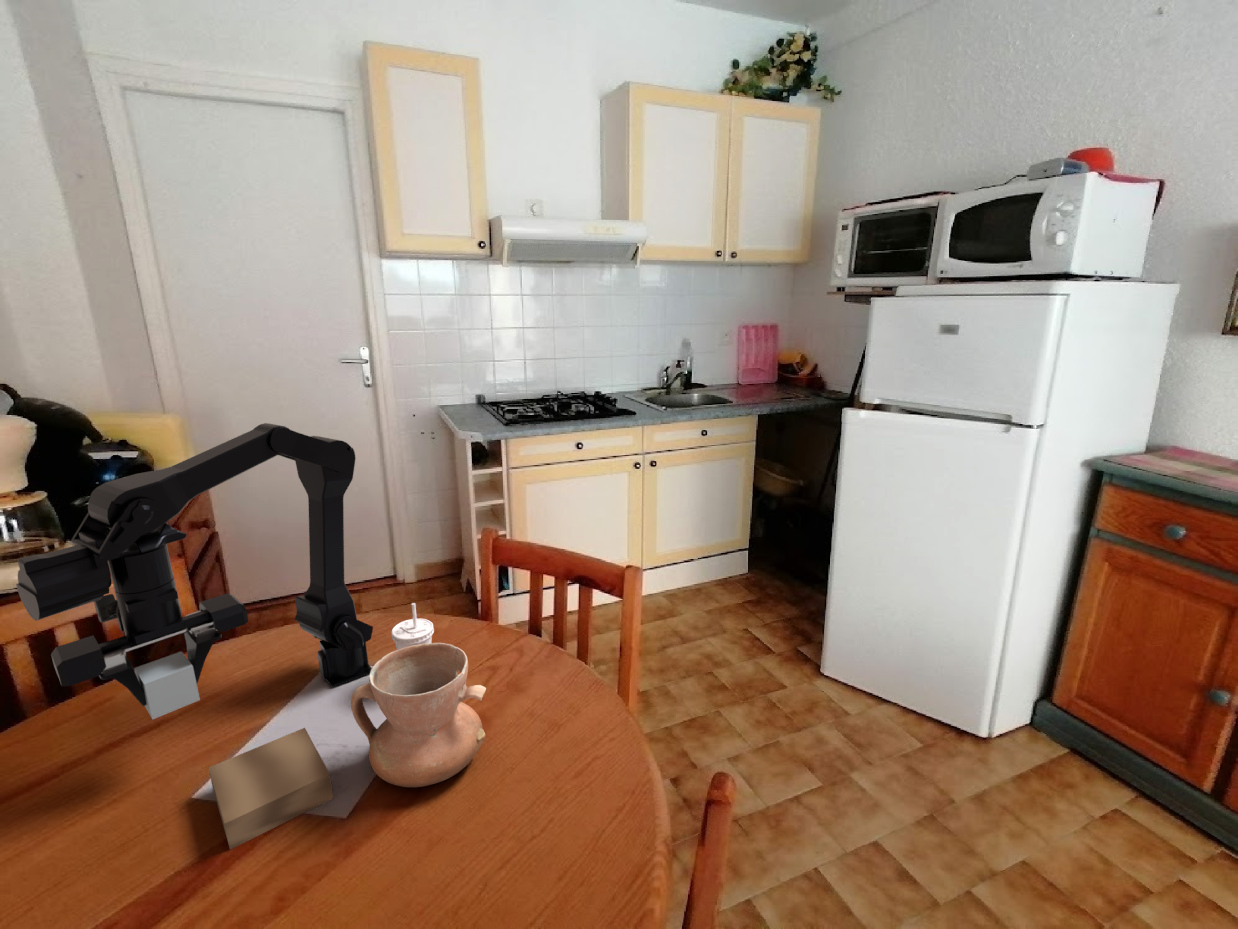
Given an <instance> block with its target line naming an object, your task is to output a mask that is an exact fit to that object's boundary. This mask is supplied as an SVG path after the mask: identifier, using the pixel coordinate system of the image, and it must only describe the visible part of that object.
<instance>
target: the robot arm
mask: <svg viewBox="0 0 1238 929" xmlns="http://www.w3.org/2000/svg"><path fill="white" fill-rule="evenodd" d="M277 456H279V457H282V458H286V459H288V460H292V461H295V466H296V471H297V477H298V479H299V480H300V482H301V485H302V486H303V488H304V490H305V492H306V494H307V498H308V499H307V500H308V502H307V503H308V533H309V534H308V537H309V539H308V541H309V579H310V580H309V586H308V588H307V590H306V591H305V593H304V594H303V595H298V596H295V598H294V599H295V602H294V603H295V606H296V614H295V617H294V621H296V622H297V623H299V624H298V625H299V627H300V629H302V630H303V631H304V632H306V633H308V634H310V635H312V637H313V638H315V639H318V640H319V646H320V650H318V651H317V660H318V667H319V673H320V676H321V677H322V678H323V680H324V681H327V683H328V685H329V686H330V688H335V687H338V686H340V685H343V684H345V683H349V682H351V681H354V680H356V679H359V678H361V677H364V676H368V675H370V671H371V669H372V667H371V665H370V664H369V658H368V651H367V650H368V649H367V642H368V641H370V640H371V639H372V636H373V629H374V627H373V626H372V625H370V624H368V623H366V622H363V621H362V620H359V619H358V616H357V611H356V607H355V601H354V599H353V597H352V595H351V593H350V591H349V589H348V587H347V585H346V583H345V527H344V526H345V523H344V522H345V521H344V520H345V517H344V514H345V513H344V512H345V511H344V508H345V507H344V496H345V494H346V492H347V490H348V488H349V486H350V484H351V482H352V481H353V479H354V472H355V466H356V453H355V449H354V447H352V446H351V445H350V444H349V443H348V442H346V441H343V440H340V439H334V438H331V437H330V438H329V437H324V436H319V435H311V436H310V435H307V434H304V433H300V432H297V431H294V430H292V429H290V428H289V427H287V426H286V425H285V426H284V425H278V424H275V423H274V424H273V423H267V422H264V423H261V424H258V425H257V426H256V427H254V428H253V429H252V430H249V431H247V432H245V433H242V434H241V435H238V436H236V437H233V438H231V439H228V440H227V441H224V442H222V443H221V444H218V445H216V446H214V447H212V448H209V449H207V450H205V451H203V452H201V453H198V454H196V455H194V456H192V457H190V458H187V459H185V460H183V461H181V462H178V463H176V464H175V465H171V466H168V467H165V468H162V469H157V470H150V471H145V472H140V473H135V474H131V475H127V476H124V477H121V478H116V479H112V480H109V481H106V482H104V483H102V484H100V485H99V486H97V487H95V489H94V490H92V492H91V493H90V494H91V495H90V497H89V500H88V502H87V513H86V515H85V517H83V520H82V521H81V524H80V525H79V526H78V528H77V529H76V532H75V533H74V534H73V536H72V537H71V540H70V542H71V544H73V545H72V546H69V547H68V546H67V547H65V548H61V549H58V550H54V551H50V552H46V553H42V554H40V553H38V554H32V555H28V556H24V557H20V558H18V560H17V565H18V568H19V570H18V571H17V581H18V582H17V583H15V584H16V588H17V592H18V595H19V597H20V601H21V603H22V604H23V606H24V608H25V610H26V612H27V613H28V615H29V616H30V618H32V620H34V621H40V620H43V619H47V618H49V617H51V616H54V615H57V614H61V613H64V612H67V611H70V610H72V609H76V608H79V607H82V606H85V605H88V604H91V603H93V604H94V607H95V611H96V615H97V618H98V621H99V622H100V623H105V622H108V621H109V622H110V621H112V620H116V619H117V622H118V623H117V624H118V626H119V629H120V631H121V632H124V634H125V635H123V636H119V637H117V638H114V639H111V640H108V641H105V642H102V643H98V641H97V639H96V638H95V636H94V635H90V636H88V637H87V636H86V637H83V638H81V639H76V640H74V641H70V642H68V643H65V644H61V645H59V646H55V648H54V649H53V651H52V652H51V654H50V656H51V659H52V664H53V667H54V669H55V673H56V675H57V677H58V679H59V682H60V685H61V687H71V686H74V685H78V684H79V683H82V682H85V681H89V680H91V679H94V678H97V677H99V679H100V680H102V681H107V680H109V679H114V680H115V681H117V682H118V683H119V684H120V685H122V686H123V687H124V688H126V689H127V690H128V691H129V692H130V693H131V694H132V695H133V697H134V698H135V699H136V700H137V701H138V702H139V703H140V705H141V706H142V707H145V705H147V704H146V698H145V694H144V692H143V689H142V687H141V685H140V683H139V680H138V678H137V676H136V673H135V669H134V667H133V665H132V663H131V662H130V661H129V658H128V657H127V653H129V652H132V651H134V650H135V651H136V650H138V649H141V648H143V647H146V646H149V645H152V644H155V643H158V642H161V641H164V640H167V639H169V638H173V637H176V636H179V635H182V634H184V639H185V644H186V653H187V654H186V656H187V657H186V658H187V659H188V660H189V662H190V663H191V664H192V666H193V669H194V674H195V679H196V683H197V685H198V683H199V680H200V678H201V674H202V671H203V668H204V666H205V665H204V664H205V662H206V659H207V657H208V655H209V652H210V650H211V648H212V646H213V645H214V642H215V641H218V640H220V639H221V638H222V633H224V632H228V631H230V630H233V629H236V628H238V627H242V626H245V625H247V623H248V622H249V617H248V612H247V609H246V606H245V604H244V603H242V602H241V601H240V600H239V599H238V598H237V597H236V596H235V595H233V594H230V593H224V594H222V595H218V596H214V597H212V598H209V599H206V600H203V601H200V602H199V606H198V607H199V610H197V611H195V612H191V613H188V614H186V615H185V616H183V613H182V609H181V605H180V599H179V595H178V590H177V586H176V581H175V576H174V572H173V567H172V562H171V558H170V552H169V548H168V547H169V546H168V544H171V543H174V542H178V541H181V540H185V539H186V538H187V534H186V532H183V531H181V530H179V529H176V528H174V526H173V527H172V525H170V524H169V523H168V522H169V521H170V520H172V519H173V518H175V517H176V516H178V515H179V514H180V513H181V511H182V510H183V509H185V507H186V506H187V505H188V503H189V502H191V500H193V499H194V498H196V497H197V496H199V495H201V494H203V493H206V492H207V491H209V490H211V489H213V488H215V487H216V486H219V485H221V484H223V483H225V482H227V481H229V480H231V479H232V478H233V479H234V478H235V477H237V476H240V475H241V474H243V473H244V472H247V471H249V470H252V469H253V468H254V467H257V466H259V465H261V464H263V463H265V462H267V461H269V460H270V459H273V458H275V457H277ZM108 530H109V533H108V534H107V535H106V534H104V533H106V532H107V531H108ZM112 584H113V585H112ZM111 586H113V589H114V594H115V595H114V594H113V593H110V588H111ZM109 593H110V594H109ZM221 632H222V633H221Z"/></svg>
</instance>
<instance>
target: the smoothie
mask: <svg viewBox="0 0 1238 929" xmlns="http://www.w3.org/2000/svg"><path fill="white" fill-rule="evenodd" d="M416 608H417V604H416V603H415V602H412V603H411V612H412V618H411V619H407V620H403V621H400V622H399V623H397V624H395V625H394V626H393V628H392V630H391V640H392V641H393V642H394V645H395V648H396V650H399V649H402V648H405V647H410V646H413V645H421V644H430V643H433V642H432V639H433V635H434V632H435V628H434V623H433V622H432V621H430V620H428V619H426V618H418V617H417V609H416Z"/></svg>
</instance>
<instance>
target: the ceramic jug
mask: <svg viewBox="0 0 1238 929" xmlns="http://www.w3.org/2000/svg"><path fill="white" fill-rule="evenodd" d="M371 668H372V669H371V671H370V674H368V676H369V677H368V679H369V682H367V683H364V684H363V685H360V686H358V687H357V688H356V689H355V690H354V691H353V693H352V695H351V700H350V701H351V702H350V704H351V712H352V715H353V718H354V720H355V722H356V724H357V726H358V727H359V728H360V730H361V731H362V732H363V733H364V734H365V736H366V737H367V739H368V743H369V747H368V760H369V763H370V766H371V768H372V770H373V771H374V773H375V774H376V775H377V776H378V777H379V779H382V780H383V781H385V782H387V783H389V784H391V785H394V786H398V787H403V788H420V787H427V786H430V785H434V784H438V783H440V782H443V781H445V780H447V779H450V778H452V777H454V776H455V775H457V774H458V773H459V772H461V771H462V770H464V768H465V767H466V766H468V765H469V763H471V761H472V759H473V758H474V757H475V756H476V754H477V753H478V751H479V750H480V748H481V747H482V745H483V744H484V742H485V740H486V732H485V730H484V729H483V723H482V719H481V718H480V716H479V714H478V713H477V712H476V710H475V709H473V708H472V707H471V706H469V705H468V704H467V703H464V702H463V701H466V700H469V699H476V700H478V701H480V702H481V701H482V699H483V696H484V695H485V692H486V690H487V688H486V686H483V685H481V684H478V685H477V684H476V685H475V684H474V685H470V686H467V679H468V673H469V672H468V670H469V661H468V656H467V655H466V653H465V651H464V650H462V649H461V648H459V647H458V646H455V645H453V644H450V643H443V642H431V643H430V644H421V645H413V646H410V647H405V648H402V649H399V650H397V649H396V650H394V651H392V652H388V653H387V654H386V655H384V656H382V658H380V659H379V660H377V661H376V663H374V665H373V666H372V667H371ZM459 672H460V673H459ZM363 698H366V699H369V700H372V701H374V702H376V704H377V706H378V707H379V709H380V711H381V712H382V714H383V716H384V717H385V720H384V721H383V722H382V723H381V724H379V726H378V727H376V726H375V725H374V723H373V722H372V721H371V718H370V717H369V714H368V713H367V710H366V708H365V705H364V700H363Z"/></svg>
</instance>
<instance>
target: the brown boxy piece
mask: <svg viewBox="0 0 1238 929" xmlns="http://www.w3.org/2000/svg"><path fill="white" fill-rule="evenodd" d="M208 772H209V776H210V782H211V785H212V790H213V795H214V799H215V801H216V805H217V808H218V813H219V815H220V818H221V822H222V826H223V830H224V833H225V837H226V840H227V845H228V847H229V850H232V849H234V848H236V847H238V846H241V845H243V844H244V843H247V842H249V841H250V840H253V839H255V838H257V837H259V836H260V835H263V834H265V833H267V832H269V831H270V830H273V829H275V828H276V827H277V828H278V826H281V825H282V824H284V823H285V824H286V823H287V822H289V821H291V820H293V819H295V818H297V817H299V816H302V815H303V814H305V813H307V812H309V811H311V810H313V809H315V808H317V807H320V806H321V805H323V804H325V803H327V802H330V801H331V800H334V793H333V787H332V780H331V774H330V771H329V770H328V768H327V766H326V765H325V763H324V761H323V758H322V757H321V755H320V754H319V751H318V749H317V748H316V746H315V743H314V741H313V740H312V739H311V737H310V735H309V732H308V730H307V729H306V727H303V728H300V729H298V730H296V731H293V732H291V733H289V734H286V735H284V736H282V737H279V738H276V739H273V740H272V741H269V742H267V743H264V744H262V745H259V746H257V747H255V748H253V749H249V750H247V751H244V752H242V753H241V754H238V755H235V756H233V757H231V758H228V759H225V760H223V761H221V762H219V763H216V764H214V765H211V766H209V767H208ZM326 801H327V802H326ZM320 804H321V805H320Z"/></svg>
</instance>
